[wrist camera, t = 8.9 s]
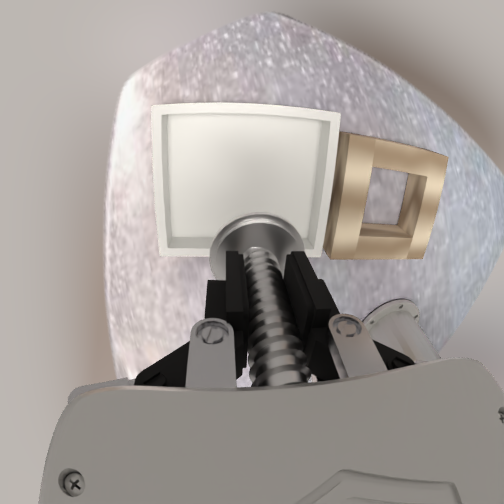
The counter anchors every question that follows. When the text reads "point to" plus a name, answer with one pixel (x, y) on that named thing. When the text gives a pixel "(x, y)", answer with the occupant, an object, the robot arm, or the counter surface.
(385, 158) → the holder
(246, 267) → the screw
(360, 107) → the counter surface
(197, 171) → the tray
